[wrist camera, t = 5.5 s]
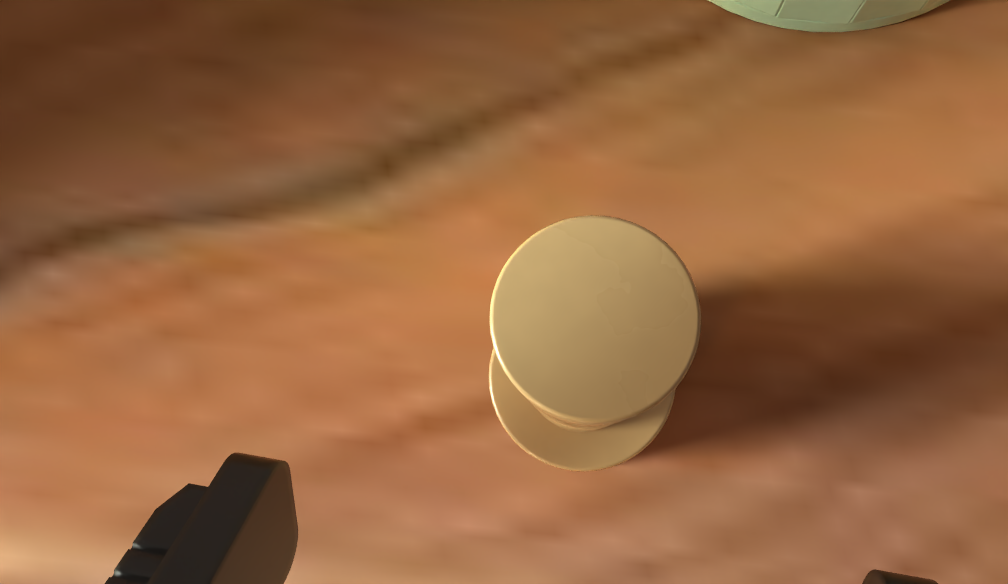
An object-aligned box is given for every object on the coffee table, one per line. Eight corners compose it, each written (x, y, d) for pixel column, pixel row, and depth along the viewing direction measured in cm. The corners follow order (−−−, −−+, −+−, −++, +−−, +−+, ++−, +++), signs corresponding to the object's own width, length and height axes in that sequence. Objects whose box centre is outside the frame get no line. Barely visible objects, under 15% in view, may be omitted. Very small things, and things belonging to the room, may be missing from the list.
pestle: (466, 386, 22) (345, 321, 10) (576, 272, 22) (586, 80, 10) (582, 502, 21) (602, 582, 9) (695, 382, 21) (855, 310, 9)
